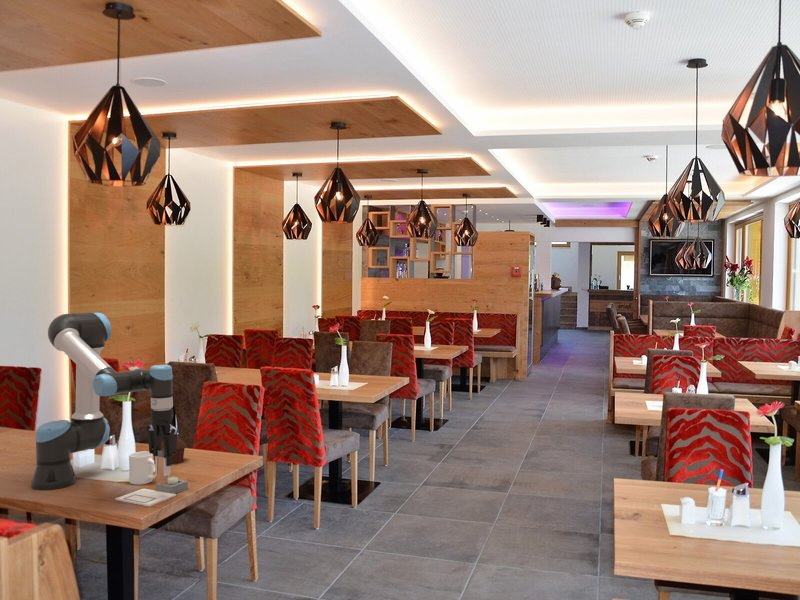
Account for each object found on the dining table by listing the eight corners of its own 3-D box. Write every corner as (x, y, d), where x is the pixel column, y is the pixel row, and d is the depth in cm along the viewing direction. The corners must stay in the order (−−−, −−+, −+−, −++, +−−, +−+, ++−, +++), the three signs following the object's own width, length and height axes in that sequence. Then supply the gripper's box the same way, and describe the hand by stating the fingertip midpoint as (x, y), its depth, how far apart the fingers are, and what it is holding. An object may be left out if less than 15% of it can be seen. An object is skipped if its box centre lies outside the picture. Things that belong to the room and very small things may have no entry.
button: (162, 487, 259) (162, 479, 259) (171, 484, 263) (171, 476, 263) (172, 489, 257) (171, 480, 257) (180, 485, 261) (180, 477, 261)
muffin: (186, 457, 308) (186, 434, 307) (187, 463, 297) (186, 440, 297) (157, 459, 304) (157, 436, 303) (157, 466, 293) (156, 442, 293)
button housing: (155, 492, 258) (155, 484, 258) (171, 486, 266) (171, 478, 266) (172, 495, 255) (172, 486, 255) (187, 489, 262) (187, 481, 262)
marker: (156, 484, 251) (155, 450, 251) (163, 481, 254) (162, 448, 254) (162, 485, 250) (162, 451, 249) (169, 482, 252) (169, 449, 252)
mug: (148, 487, 264) (148, 458, 264) (124, 483, 269) (124, 455, 269) (165, 481, 272) (164, 453, 272) (141, 477, 277) (140, 450, 277)
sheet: (115, 500, 249) (115, 498, 249) (143, 489, 261) (143, 488, 261) (149, 506, 242) (149, 504, 242) (176, 495, 254) (176, 494, 254)
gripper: (137, 408, 251) (138, 474, 252) (171, 412, 244) (172, 479, 245) (152, 405, 258) (153, 469, 259) (186, 408, 251) (187, 474, 252)
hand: (163, 474), depth 252 cm, fingers closed on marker, 3 cm apart
